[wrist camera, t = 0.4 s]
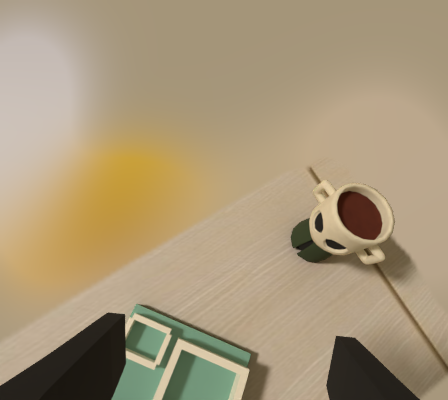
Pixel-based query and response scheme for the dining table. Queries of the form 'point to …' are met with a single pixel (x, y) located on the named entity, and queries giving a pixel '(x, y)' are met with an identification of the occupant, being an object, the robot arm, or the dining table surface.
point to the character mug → (345, 224)
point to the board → (178, 362)
